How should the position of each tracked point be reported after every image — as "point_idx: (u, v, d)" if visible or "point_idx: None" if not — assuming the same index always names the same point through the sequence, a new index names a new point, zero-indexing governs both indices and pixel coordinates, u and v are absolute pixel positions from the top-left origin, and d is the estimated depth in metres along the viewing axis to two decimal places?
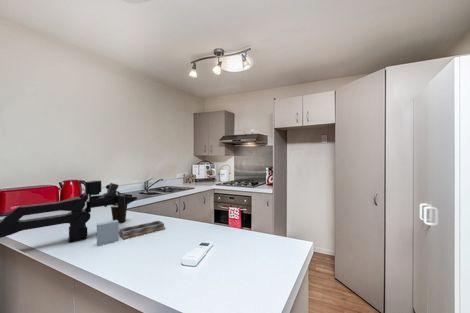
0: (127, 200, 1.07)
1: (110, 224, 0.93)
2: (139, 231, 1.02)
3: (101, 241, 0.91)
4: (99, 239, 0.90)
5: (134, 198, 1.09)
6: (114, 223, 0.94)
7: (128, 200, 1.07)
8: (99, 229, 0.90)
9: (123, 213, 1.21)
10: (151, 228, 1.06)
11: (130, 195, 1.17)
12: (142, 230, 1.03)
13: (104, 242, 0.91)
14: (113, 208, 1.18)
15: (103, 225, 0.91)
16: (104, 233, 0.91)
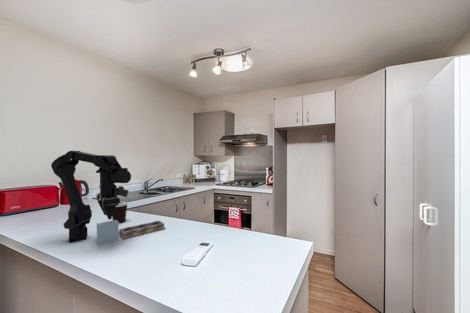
0: (109, 208, 0.89)
1: (110, 224, 0.93)
2: (139, 231, 1.02)
3: (101, 241, 0.91)
4: (99, 239, 0.90)
5: (110, 216, 0.90)
6: (114, 223, 0.94)
7: (109, 209, 0.89)
8: (99, 229, 0.90)
9: (123, 213, 1.21)
10: (151, 228, 1.06)
11: (106, 212, 0.97)
12: (142, 230, 1.03)
13: (104, 242, 0.91)
14: None
15: (103, 225, 0.91)
16: (104, 233, 0.91)
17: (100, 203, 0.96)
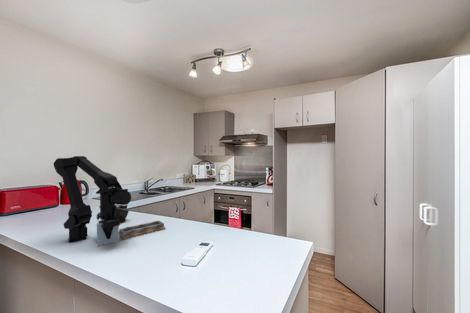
0: (107, 228, 0.91)
1: None
2: (139, 231, 1.02)
3: (101, 241, 0.91)
4: (99, 239, 0.90)
5: (109, 235, 0.92)
6: None
7: (107, 229, 0.91)
8: (99, 229, 0.90)
9: None
10: (151, 228, 1.06)
11: None
12: (142, 230, 1.03)
13: (104, 242, 0.91)
14: None
15: None
16: (104, 233, 0.91)
17: None
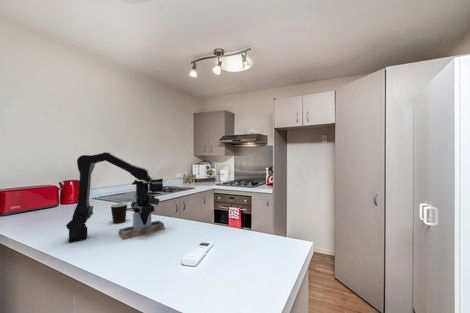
0: (144, 215, 1.03)
1: None
2: (139, 231, 1.02)
3: (137, 228, 1.04)
4: (136, 226, 1.03)
5: (145, 221, 1.03)
6: None
7: (144, 216, 1.02)
8: (136, 218, 1.03)
9: (123, 213, 1.21)
10: (151, 228, 1.06)
11: None
12: (142, 230, 1.03)
13: None
14: (113, 208, 1.18)
15: (139, 214, 1.04)
16: (140, 221, 1.04)
17: (135, 211, 1.08)
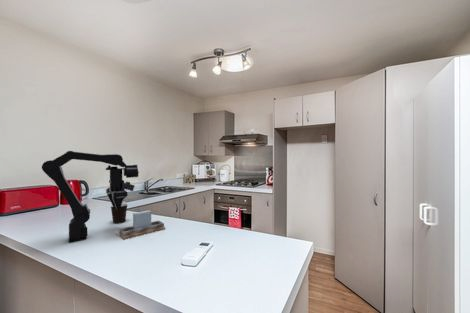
0: (118, 200, 1.02)
1: (144, 213, 1.06)
2: (139, 231, 1.02)
3: (137, 228, 1.04)
4: (136, 226, 1.03)
5: (118, 207, 1.03)
6: (148, 213, 1.07)
7: (117, 201, 1.02)
8: (136, 218, 1.03)
9: (123, 213, 1.21)
10: (151, 228, 1.06)
11: (115, 205, 1.10)
12: (142, 230, 1.03)
13: None
14: (113, 208, 1.18)
15: (139, 214, 1.04)
16: (140, 221, 1.04)
17: (109, 196, 1.09)
